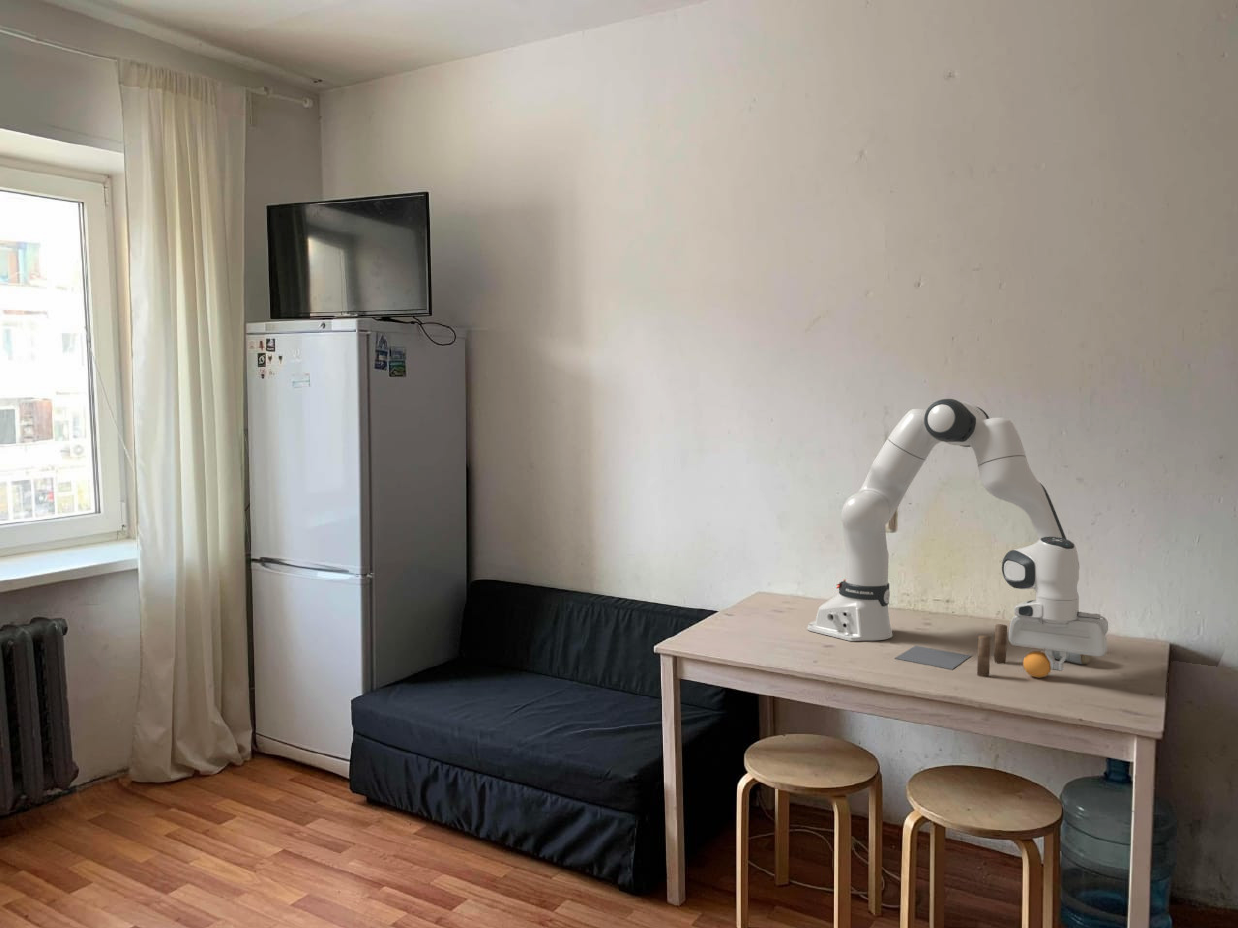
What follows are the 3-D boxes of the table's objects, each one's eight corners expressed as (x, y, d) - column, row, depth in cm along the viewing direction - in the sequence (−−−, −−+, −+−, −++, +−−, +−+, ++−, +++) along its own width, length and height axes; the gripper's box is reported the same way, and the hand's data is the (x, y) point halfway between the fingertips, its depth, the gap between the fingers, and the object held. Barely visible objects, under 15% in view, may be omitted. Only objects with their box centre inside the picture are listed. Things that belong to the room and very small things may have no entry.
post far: (992, 662, 225) (994, 625, 224) (996, 659, 227) (997, 623, 226) (1003, 664, 223) (1005, 627, 223) (1007, 661, 225) (1008, 625, 225)
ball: (1038, 685, 211) (1015, 668, 214) (1044, 679, 216) (1021, 661, 219) (1054, 666, 209) (1030, 648, 211) (1060, 660, 213) (1037, 642, 216)
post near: (975, 675, 215) (977, 637, 214) (979, 672, 217) (980, 634, 216) (987, 677, 213) (988, 639, 212) (990, 674, 215) (992, 636, 214)
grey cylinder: (1083, 668, 220) (1085, 636, 220) (1048, 660, 226) (1049, 629, 226) (1099, 660, 228) (1101, 629, 227) (1064, 653, 234) (1066, 623, 233)
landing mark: (894, 658, 228) (894, 657, 228) (915, 646, 238) (915, 645, 238) (952, 669, 219) (952, 668, 219) (971, 656, 230) (971, 655, 230)
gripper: (1110, 612, 206) (1110, 673, 207) (1014, 602, 219) (1014, 660, 220) (1105, 617, 201) (1104, 680, 202) (1006, 606, 214) (1006, 666, 215)
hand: (1056, 669), depth 211 cm, fingers closed
